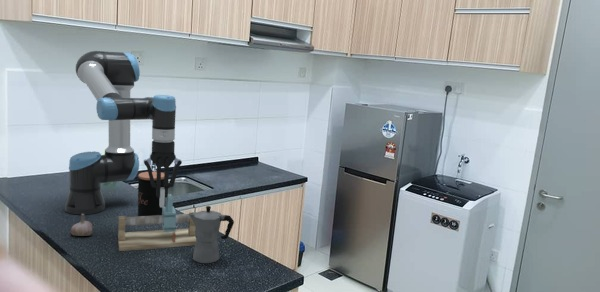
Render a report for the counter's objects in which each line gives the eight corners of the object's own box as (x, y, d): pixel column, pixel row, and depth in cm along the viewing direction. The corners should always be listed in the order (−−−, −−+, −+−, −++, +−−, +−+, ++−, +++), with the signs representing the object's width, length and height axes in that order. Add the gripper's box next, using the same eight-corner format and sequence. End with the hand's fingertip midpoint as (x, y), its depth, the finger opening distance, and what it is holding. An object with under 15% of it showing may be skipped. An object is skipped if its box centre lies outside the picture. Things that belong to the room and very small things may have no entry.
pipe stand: (118, 236, 169) (118, 211, 167) (191, 231, 179) (192, 207, 177) (118, 251, 157) (119, 223, 155) (197, 245, 167) (198, 219, 165)
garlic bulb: (96, 236, 168) (96, 215, 166) (74, 240, 163) (74, 218, 162) (89, 229, 174) (89, 209, 172) (67, 233, 169) (67, 212, 167)
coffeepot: (181, 260, 154) (183, 208, 150) (192, 249, 163) (194, 199, 159) (227, 267, 152) (230, 213, 148) (235, 255, 161) (238, 205, 158)
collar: (161, 225, 171) (162, 193, 169) (173, 224, 172) (174, 193, 170) (163, 232, 164) (164, 199, 162) (175, 231, 166) (176, 198, 164)
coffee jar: (135, 214, 193) (136, 171, 189) (162, 212, 198) (163, 170, 194) (139, 223, 183) (140, 178, 180) (167, 220, 188) (168, 177, 185)
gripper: (144, 142, 156) (143, 210, 160) (184, 142, 161) (182, 208, 165) (142, 138, 163) (141, 203, 167) (181, 138, 167) (179, 202, 172)
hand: (161, 206), depth 166 cm, fingers closed
